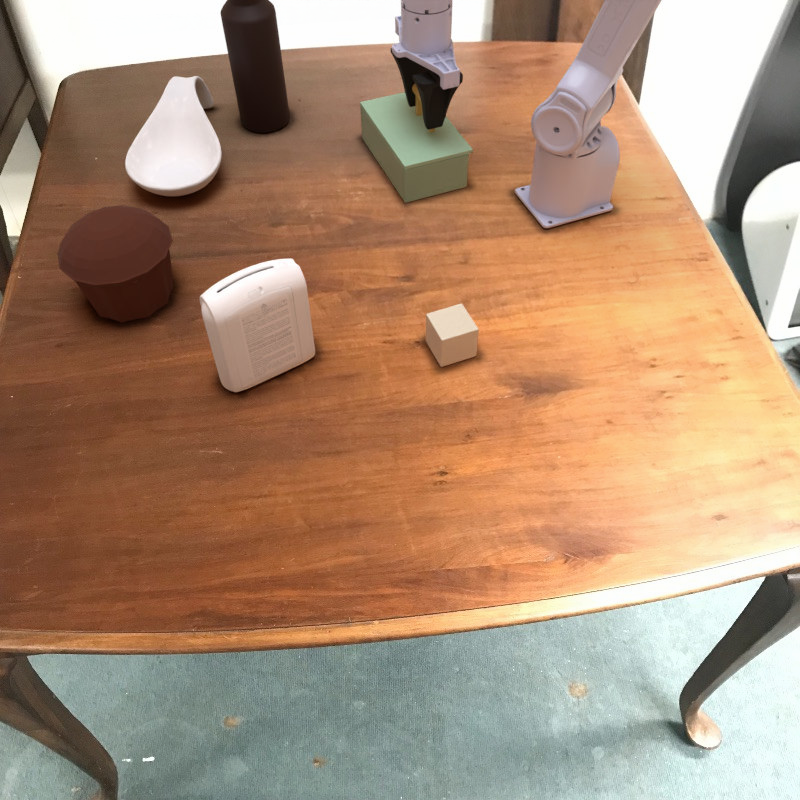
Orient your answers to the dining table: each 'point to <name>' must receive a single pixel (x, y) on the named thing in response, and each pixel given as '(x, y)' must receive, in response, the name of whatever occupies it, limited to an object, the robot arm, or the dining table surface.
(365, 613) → the dining table surface
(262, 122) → the bottle
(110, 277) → the muffin
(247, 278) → the photo printer
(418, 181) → the compartment
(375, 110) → the compartment door
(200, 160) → the spoon rest
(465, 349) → the block
